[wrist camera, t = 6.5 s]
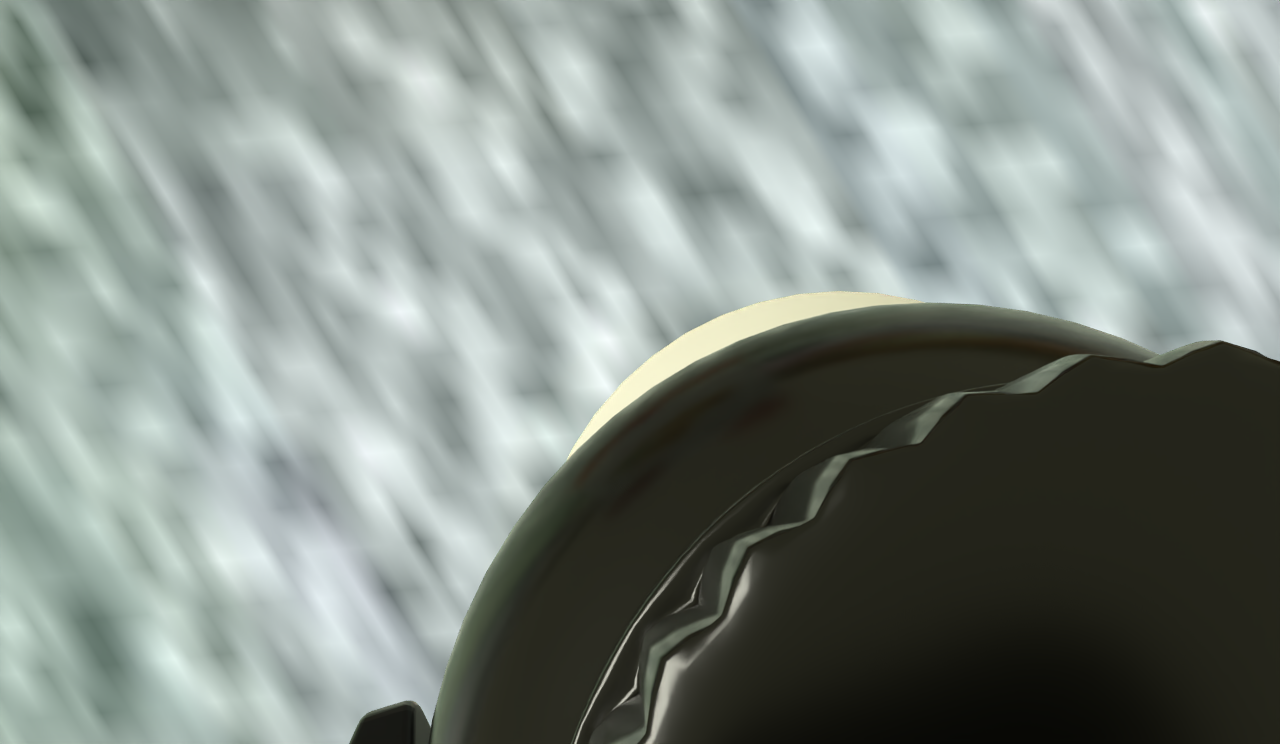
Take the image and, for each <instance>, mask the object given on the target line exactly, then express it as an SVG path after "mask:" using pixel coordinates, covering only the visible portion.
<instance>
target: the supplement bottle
mask: <svg viewBox="0 0 1280 744" xmlns="http://www.w3.org/2000/svg"><path fill="white" fill-rule="evenodd" d="M428 744H1280V361H1276V360H1273V359H1270V358H1267V357H1265V356H1264V355H1262V354H1260V353H1258V352H1257V351H1254V350H1251V349H1248V348H1244V347H1241V346H1238V345H1234V344H1231V343H1228V342H1224V341H1221V340H1216V341H1200V342H1195V343H1192V344H1188V345H1185V346H1183V347H1180V348H1177V349H1175V350H1172V351H1169V352H1167V353H1164V354H1162V355H1159V354H1157V353H1154V352H1152V351H1150V350H1148V349H1145V348H1143V347H1141V346H1139V345H1136V344H1134V343H1132V342H1130V341H1127V340H1125V339H1123V338H1120V337H1117V336H1114V335H1111V334H1108V333H1105V332H1102V331H1099V330H1096V329H1093V328H1090V327H1087V326H1084V325H1081V324H1078V323H1075V322H1071V321H1067V320H1062V319H1058V318H1054V317H1050V316H1045V315H1041V314H1037V313H1033V312H1028V311H1021V310H1014V309H1007V308H1000V307H992V306H985V305H974V304H950V303H910V304H891V305H876V306H870V307H863V308H856V309H850V310H843V311H837V312H830V313H826V314H822V315H818V316H815V317H811V318H807V319H803V320H799V321H795V322H791V323H787V324H783V325H781V326H778V327H775V328H772V329H769V330H767V331H764V332H761V333H758V334H756V335H753V336H750V337H747V338H744V339H742V340H739V341H737V342H735V343H733V344H730V345H728V346H726V347H724V348H722V349H720V350H718V351H716V352H714V353H711V354H709V355H707V356H705V357H703V358H701V359H699V360H697V361H695V362H693V363H691V364H690V365H688V366H686V367H685V368H683V369H681V370H680V371H678V372H676V373H675V374H673V375H672V376H670V377H668V378H667V379H665V380H663V381H662V382H660V383H658V384H657V385H655V386H653V387H652V388H651V389H649V390H648V391H647V392H645V393H644V394H643V395H641V396H640V397H639V398H637V399H636V400H635V401H633V402H632V403H630V404H629V405H628V406H626V407H625V408H624V409H622V410H621V411H620V412H618V413H617V414H616V415H614V416H613V417H612V418H611V419H610V420H609V421H608V422H607V423H606V424H604V425H603V426H602V427H601V428H600V429H599V430H598V431H597V432H596V433H595V434H593V435H592V436H591V437H590V438H589V439H588V440H587V441H586V442H585V443H584V444H582V445H581V446H580V447H579V448H578V449H577V450H576V451H575V452H574V453H573V454H572V456H571V457H570V458H569V459H568V460H567V461H566V462H565V463H564V464H563V466H562V467H561V468H560V469H559V470H558V471H557V472H556V473H555V474H554V475H553V477H552V478H551V479H550V480H549V481H548V482H547V483H546V484H545V485H544V487H543V488H542V489H541V491H540V492H539V493H538V495H537V496H536V497H535V499H534V500H533V501H532V503H531V504H530V505H529V507H528V508H527V509H526V511H525V512H524V514H523V515H522V516H521V518H520V519H519V520H518V522H517V523H516V524H515V526H514V527H513V529H512V530H511V532H510V534H509V535H508V537H507V539H506V540H505V542H504V544H503V545H502V547H501V549H500V550H499V552H498V554H497V555H496V557H495V559H494V560H493V562H492V564H491V565H490V567H489V568H488V570H487V572H486V574H485V576H484V578H483V580H482V582H481V584H480V587H479V589H478V591H477V593H476V595H475V597H474V599H473V601H472V603H471V605H470V607H469V610H468V612H467V614H466V616H465V618H464V620H463V623H462V626H461V629H460V631H459V634H458V637H457V639H456V642H455V645H454V648H453V650H452V653H451V656H450V659H449V661H448V664H447V667H446V670H445V674H444V678H443V681H442V685H441V689H440V693H439V697H438V700H437V704H436V708H435V712H434V716H433V719H432V725H431V731H430V737H429V743H428Z"/></svg>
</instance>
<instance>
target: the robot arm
mask: <svg viewBox="0 0 1280 744" xmlns="http://www.w3.org/2000/svg"><path fill="white" fill-rule="evenodd" d="M430 731H431V727H430V725H429V723H428V721H427V719H426V717H425V715H424V713H423V711H422V709H421V707H420V706H419V705H418V704H417V703H416V702H414V701H404V702H400V703H397V704H394V705H390V706H387V707H384V708H380V709H377V710H374V711H371V712H369V713H367V714H366V715H365V716H364V717H363V718H362V719H361V720H360V722H359V723H358V725H357V728H356V730H355V732H354V734H353V736H352V739H351V741H350V743H349V744H428V743H429V737H430Z"/></svg>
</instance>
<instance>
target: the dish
mask: <svg viewBox="0 0 1280 744" xmlns="http://www.w3.org/2000/svg"><path fill="white" fill-rule="evenodd" d="M910 303H924V302H921V301H917V300H912V299H906V298H901V297H895V296H890V295H884V294H879V293H861V292H843V291H835V292H822V293H808V294H797V295H792V296H788V297H783V298H778V299H773V300H768V301H763V302H759V303H756V304H753V305H750V306H747V307H744V308H742V309H739V310H736V311H733V312H730V313H727V314H724V315H721V316H719V317H717V318H715V319H713V320H711V321H709V322H707V323H705V324H703V325H701V326H699V327H697V328H695V329H693V330H691V331H689V332H687V333H686V334H684V335H683V336H681V337H680V338H678V339H677V340H675V341H674V342H672V343H671V344H669V345H668V346H666V347H665V348H663V349H662V350H660V351H659V352H657V353H656V354H654V355H653V356H652V357H651V358H650V359H648V360H647V361H646V362H645V363H644V364H643V365H642V366H640V367H639V368H638V369H637V370H636V371H635V372H634V373H633V374H631V375H630V376H629V377H628V378H627V379H626V380H625V381H624V382H622V384H621V385H620V386H619V387H618V388H617V389H616V390H615V392H614V393H613V394H612V395H611V396H610V397H609V399H608V400H607V401H606V402H605V403H604V404H603V405H602V407H601V408H600V409H599V410H598V411H597V412H596V414H595V415H594V417H593V418H592V420H591V421H590V423H589V424H588V426H587V427H586V429H585V430H584V432H583V433H582V435H581V436H580V438H579V439H578V441H577V442H576V444H575V445H574V447H573V449H572V451H571V453H570V455H569V457H568V459H569V458H570V457H571V456H572V454H573V453H574V452H575V451H576V450H577V449H578V448H579V447H580V446H581V445H582V444H584V443H585V442H586V441H587V440H588V439H589V438H590V437H591V436H592V435H593V434H595V433H596V432H597V431H598V430H599V429H600V428H601V427H602V426H603V425H604V424H606V423H607V422H608V421H609V420H610V419H611V418H612V417H613V416H614V415H616V414H617V413H618V412H620V411H621V410H622V409H624V408H625V407H626V406H628V405H629V404H630V403H632V402H633V401H635V400H636V399H637V398H639V397H640V396H641V395H643V394H644V393H645V392H647V391H648V390H649V389H651V388H652V387H653V386H655V385H657V384H658V383H660V382H662V381H663V380H665V379H667V378H668V377H670V376H672V375H673V374H675V373H676V372H678V371H680V370H681V369H683V368H685V367H686V366H688V365H690V364H691V363H693V362H695V361H697V360H699V359H701V358H703V357H705V356H707V355H709V354H711V353H714V352H716V351H718V350H720V349H722V348H724V347H726V346H728V345H730V344H733V343H735V342H737V341H739V340H742V339H744V338H747V337H750V336H753V335H756V334H758V333H761V332H764V331H767V330H769V329H772V328H775V327H778V326H781V325H783V324H787V323H791V322H795V321H799V320H803V319H807V318H811V317H815V316H818V315H822V314H826V313H830V312H837V311H843V310H850V309H856V308H863V307H870V306H876V305H891V304H910ZM568 459H567V460H568Z"/></svg>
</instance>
